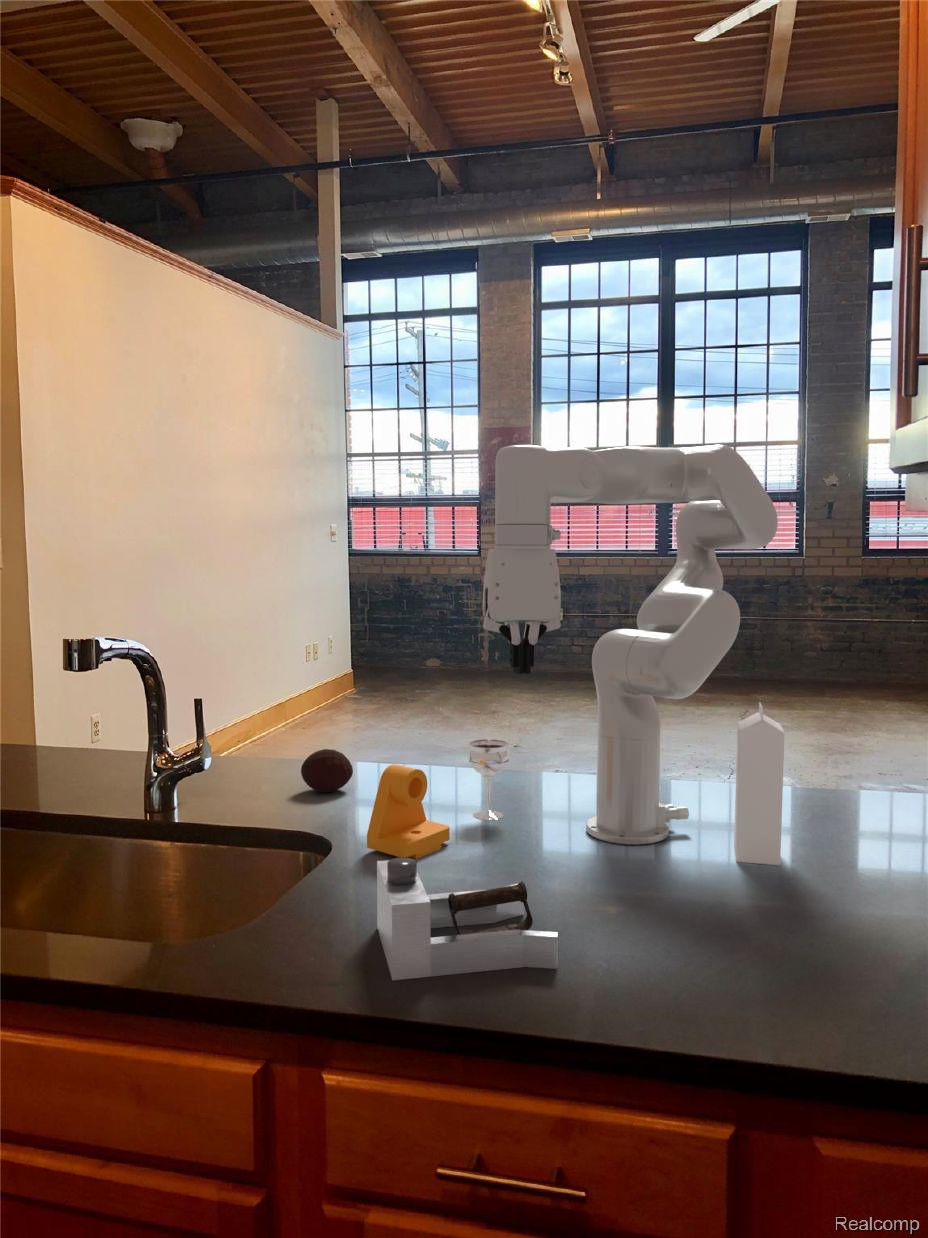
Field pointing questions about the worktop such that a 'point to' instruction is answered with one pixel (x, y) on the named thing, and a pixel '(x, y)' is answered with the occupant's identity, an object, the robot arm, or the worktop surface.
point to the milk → (759, 790)
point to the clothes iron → (490, 899)
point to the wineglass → (488, 767)
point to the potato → (326, 770)
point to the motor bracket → (415, 913)
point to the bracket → (403, 816)
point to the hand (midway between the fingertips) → (521, 672)
